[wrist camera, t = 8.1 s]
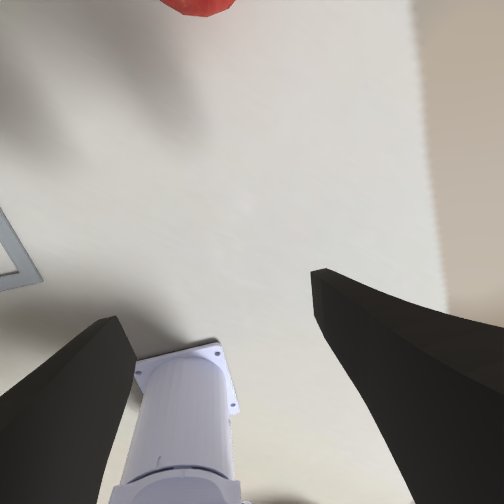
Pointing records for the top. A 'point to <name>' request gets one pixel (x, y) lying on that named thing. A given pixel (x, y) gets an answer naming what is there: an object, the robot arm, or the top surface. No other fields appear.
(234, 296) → the top surface
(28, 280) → the gray square frame
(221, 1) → the onion
